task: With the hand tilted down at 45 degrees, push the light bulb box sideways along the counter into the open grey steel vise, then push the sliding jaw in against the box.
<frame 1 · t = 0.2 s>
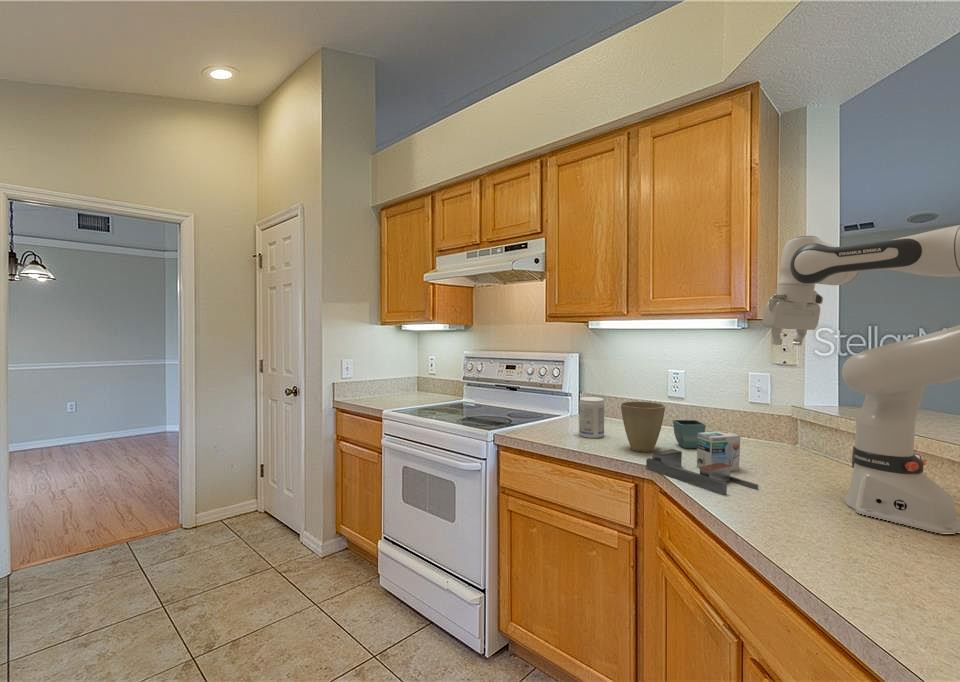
hand: (787, 345, 140), 39 cm above the counter, tool pointing down, fingers open, 8 cm apart
sliding jaw: (715, 473, 140), point 3 cm above the counter, slide at 0.0 cm
light bulb box: (717, 469, 154), on the counter
vise base: (689, 474, 147), on the counter
flower pot: (688, 447, 180), on the counter
plant pot: (641, 449, 175), on the counter
supplement tub: (591, 436, 196), on the counter
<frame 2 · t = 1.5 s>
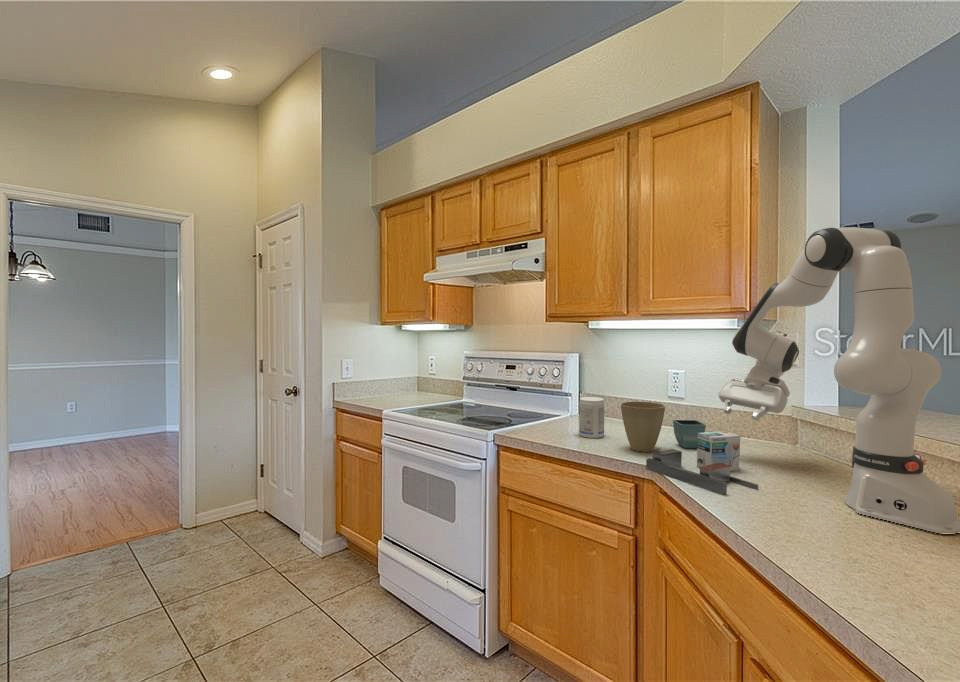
hand: (740, 415, 159), 15 cm above the counter, tool tilted 45°, fingers open, 8 cm apart
nothing on the counter moved.
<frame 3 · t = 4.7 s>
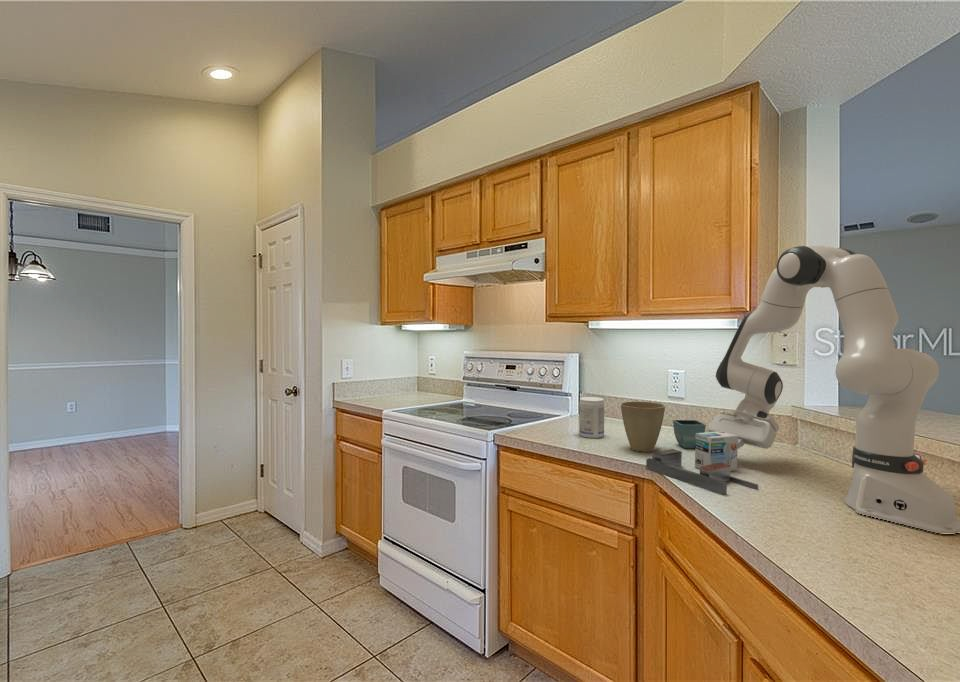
hand: (728, 450, 156), 5 cm above the counter, tool tilted 45°, fingers closed
light bulb box: (715, 469, 153), on the counter, touching gripper
everything else where it was.
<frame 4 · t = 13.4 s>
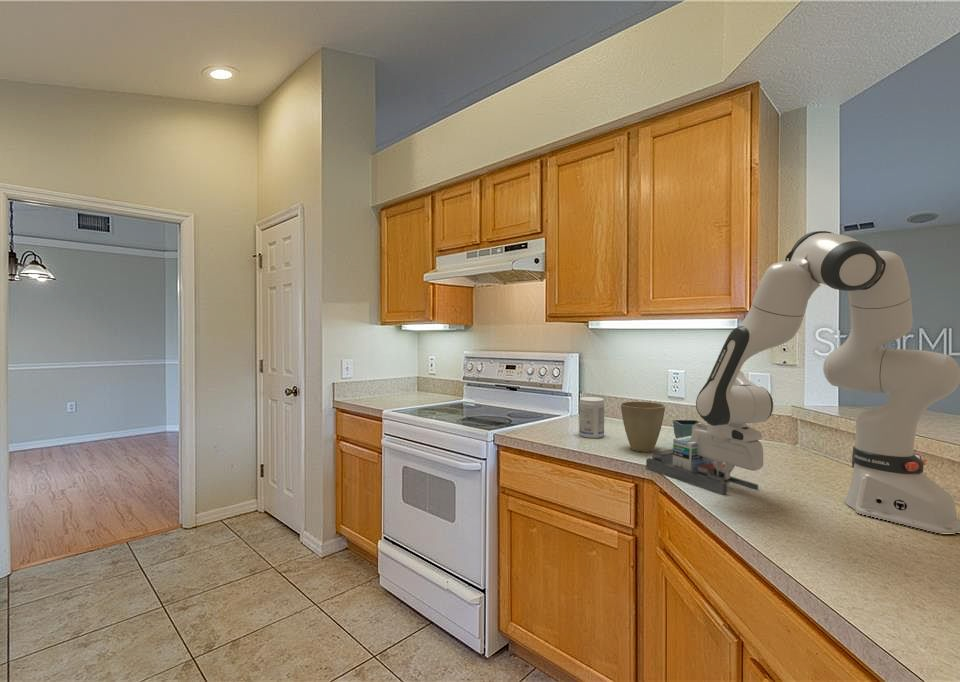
hand: (723, 477, 137), 2 cm above the counter, tool pointing down, fingers closed
sliding jaw: (713, 473, 140), point 3 cm above the counter, slide at 0.6 cm, touching gripper
light bulb box: (692, 475, 147), on the counter
everything else where it was.
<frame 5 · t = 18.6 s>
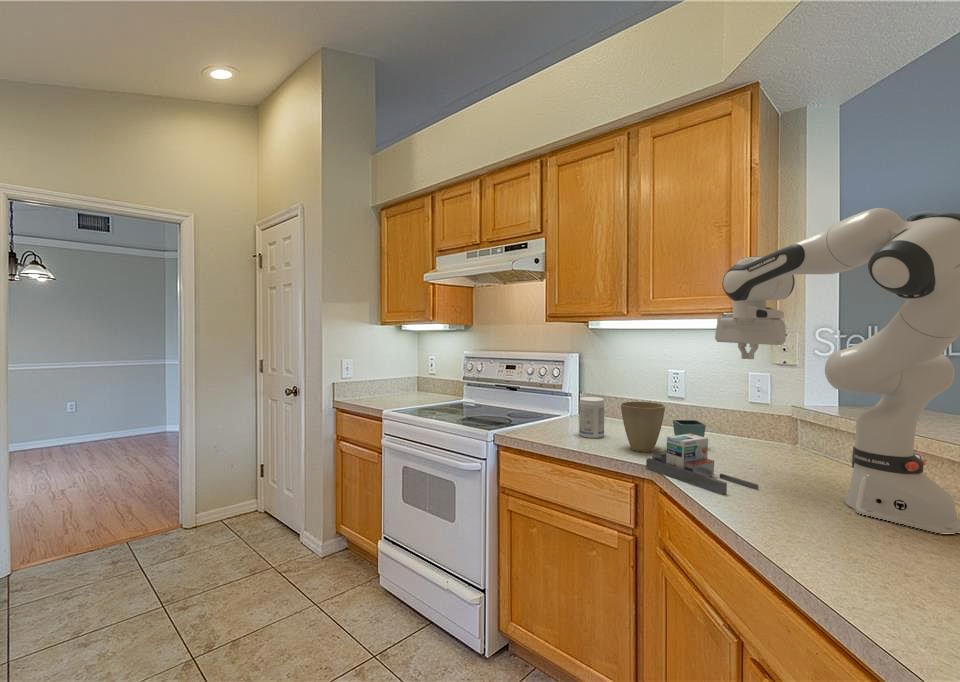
hand: (747, 358, 149), 34 cm above the counter, tool pointing down, fingers closed
sliding jaw: (699, 468, 144), point 3 cm above the counter, slide at 5.1 cm
light bulb box: (686, 473, 149), on the counter
everything else where it was.
at the end: light bulb box inside the target area (1.1 cm from its centre), on the counter; light bulb box tilted 0°; sliding jaw slide at 5.1 cm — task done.
